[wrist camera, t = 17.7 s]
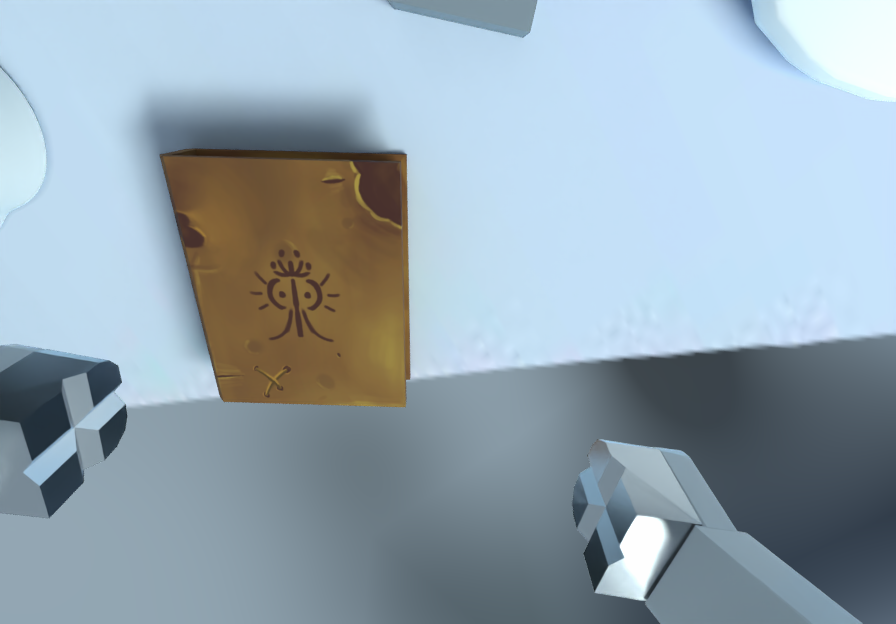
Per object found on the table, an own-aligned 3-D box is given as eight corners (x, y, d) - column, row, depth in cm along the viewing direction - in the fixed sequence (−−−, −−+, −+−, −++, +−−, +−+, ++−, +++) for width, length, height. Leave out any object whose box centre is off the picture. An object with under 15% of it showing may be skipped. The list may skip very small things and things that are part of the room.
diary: (192, 147, 39) (152, 155, 34) (407, 153, 39) (399, 162, 34) (240, 370, 49) (214, 402, 44) (410, 375, 49) (405, 408, 44)
